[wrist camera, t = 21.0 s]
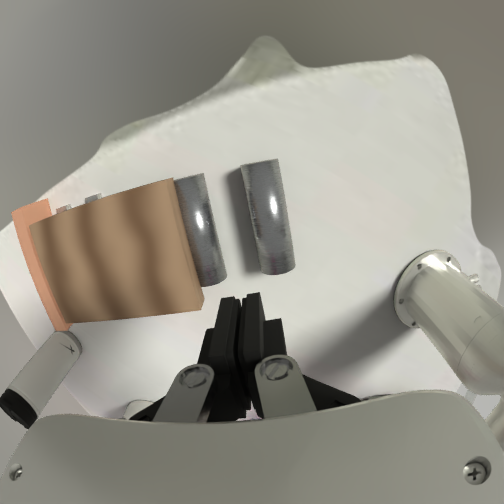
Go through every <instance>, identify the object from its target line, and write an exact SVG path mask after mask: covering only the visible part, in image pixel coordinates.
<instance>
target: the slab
mask: <svg viewBox="0 0 504 504" xmlns="http://www.w3.org/2000/svg"><path fill="white" fill-rule="evenodd" d="M29 228H30V232H31V235H32V238H33V242H34V245H35V248H36V251H37V254H38V257H39V260H40V262H41V265H42V268H43V271H44V273H45V276H46V279H47V281H48V284H49V286H50V289H51V291H52V293H53V296H54V298H55V300H56V303H57V305H58V307H59V309H60V311H61V314H62V316H63V318H64V320H65V322H66V324H67V323H82V322H95V321H107V320H118V319H129V318H139V317H148V316H157V315H166V314H174V313H182V312H190V311H198V310H201V308H202V305H203V302H204V296H203V292H202V289H201V286H200V283H199V279H198V276H197V272H196V268H195V265H194V261H193V258H192V254H191V250H190V246H189V243H188V239H187V235H186V231H185V227H184V223H183V219H182V215H181V211H180V207H179V203H178V199H177V194H176V190H175V186H174V180H173V178H169V179H165V180H162V181H158V182H154V183H151V184H147V185H143V186H140V187H136V188H133V189H130V190H126V191H123V192H120V193H116V194H113V195H110V196H107V197H104V198H101V199H98V200H95V201H92V202H89V203H86V204H83V205H80V206H77V207H74V208H72V209H69V210H66V211H64V212H61V213H58V214H56V215H53V216H50V217H48V218H45V219H43V220H40V221H38V222H36V223H33V224H31V225H29Z"/></svg>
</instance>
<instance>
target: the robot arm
mask: <svg viewBox="0 0 504 504" xmlns="http://www.w3.org/2000/svg"><path fill="white" fill-rule="evenodd" d="M478 281H479V276H478V275H477V274H473V275H470V276H467V275H466V274H464V273H463V272H461V267H460V264H459V262H458V261H457V259H456V258H455V257H454V256H453V255H451V254H450V253H448V252H446V251H443V250H433V251H429V252H426V253H424V254H422V255H421V256H419V257H418V258H416V259H415V260H414V261H413V262H412V263H411V264H410V265H409V266H408V267H407V269H406V270H405V271H404V273H403V274H402V276H401V278H400V280H399V282H398V284H397V287H396V291H395V296H394V308H395V311H396V314H397V316H398V317H399V319H400V320H401V321H402V322H403V323H404V324H405V325H407V326H408V327H411V328H421V329H422V331H423V332H424V333H425V335H426V336H427V337H428V338H429V340H430V341H431V342H432V343H433V345H434V346H435V347H436V349H437V350H438V351H439V353H440V354H441V355H442V356H443V358H444V359H445V360H446V362H447V363H448V364H449V366H450V367H451V369H452V370H453V371H454V373H455V374H456V375H457V377H458V378H459V379H460V381H461V382H462V384H463V385H464V386H465V387H466V388H467V389H468V390H469V391H471V392H472V393H475V394H478V395H500V396H501V399H500V402H499V403H498V405H497V406H496V407H495V408H494V409H493V411H492V413H490V415H489V416H488V417H487V418H486V419H485V420H484V419H483V418H482V416H481V415H480V413H479V412H478V411H477V410H476V409H475V407H474V406H473V405H472V404H471V403H470V402H469V401H468V400H467V399H465V398H464V397H463V396H461V395H459V394H457V393H455V392H452V391H446V390H417V391H409V392H402V393H398V394H392V395H383V396H373V397H369V400H360V399H359V398H357V397H355V396H353V395H351V394H348V393H346V392H343V391H340V390H338V389H336V388H333V387H331V386H328V385H326V384H323V383H321V382H319V381H316V380H314V379H312V378H309V377H307V376H305V375H303V374H301V371H300V369H299V366H298V364H297V362H296V361H295V359H293V358H292V357H290V356H287V352H286V345H285V338H284V332H283V326H282V320H281V318H280V319H274V320H267V321H266V320H265V315H264V310H263V306H262V301H261V296H260V292H258V293H252V294H247V298H243V299H242V307H241V303H240V300H239V299H235V297H234V296H233V297H226V298H221V301H220V306H219V310H218V314H217V318H216V323H215V327H214V328H210V329H207V330H206V332H205V336H204V340H203V344H202V348H201V351H200V355H199V359H198V363H197V364H194V365H190V366H188V367H186V368H184V369H182V370H181V371H180V372H179V373H178V374H177V376H176V377H175V379H174V381H173V383H172V385H171V387H170V389H169V391H168V392H167V394H166V396H164V397H163V398H161V399H159V400H158V401H156V402H155V403H153V404H151V405H150V406H148V407H146V408H145V409H143V410H141V411H139V412H138V413H136V414H134V415H133V416H132V417H130V418H129V420H127V419H126V418H120V419H113V418H104V417H96V416H86V415H79V414H57V415H51V416H46V417H43V418H40V419H38V420H37V421H36V422H34V423H33V424H32V426H31V427H30V428H29V429H28V431H27V432H26V434H25V435H24V436H23V438H22V439H21V441H20V443H19V444H18V446H17V448H16V449H15V451H14V453H13V455H12V457H11V458H10V460H9V462H8V464H7V466H6V468H5V471H4V472H3V474H2V477H1V479H0V504H504V307H503V306H501V305H500V304H499V303H498V302H497V301H495V300H494V299H493V298H492V297H490V296H489V295H488V294H487V293H485V292H484V291H483V290H482V288H481V286H480V285H475V284H474V283H477V282H478ZM251 401H252V404H253V407H254V409H256V412H257V415H258V416H259V417H261V418H262V419H256V420H245V421H236V420H237V419H239V418H246V410H251Z"/></svg>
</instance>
